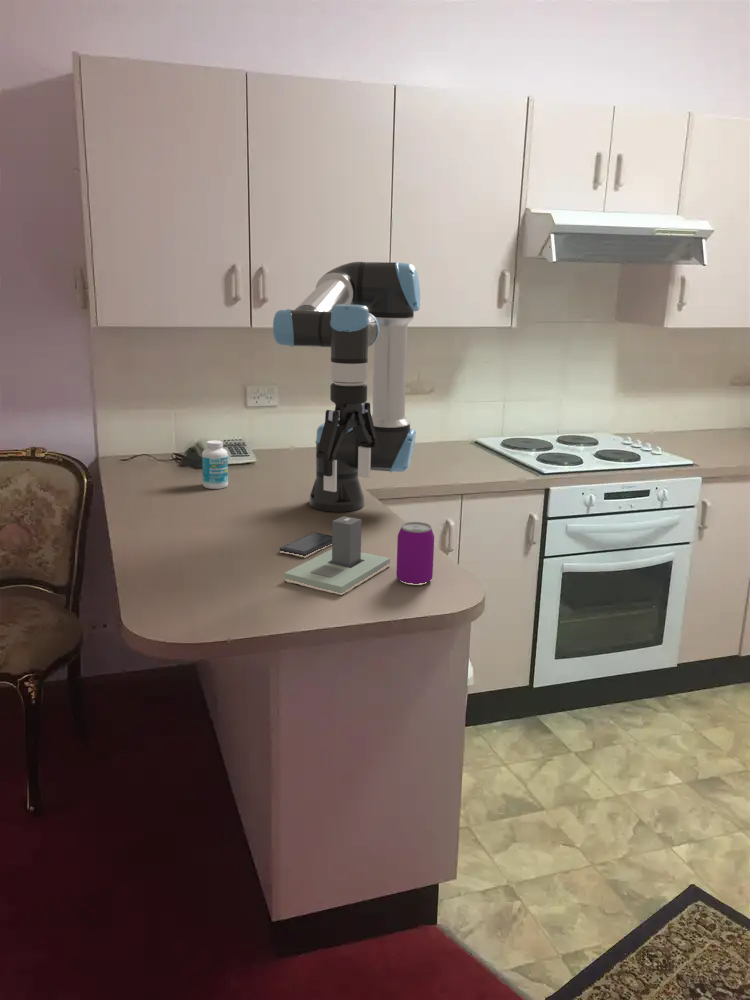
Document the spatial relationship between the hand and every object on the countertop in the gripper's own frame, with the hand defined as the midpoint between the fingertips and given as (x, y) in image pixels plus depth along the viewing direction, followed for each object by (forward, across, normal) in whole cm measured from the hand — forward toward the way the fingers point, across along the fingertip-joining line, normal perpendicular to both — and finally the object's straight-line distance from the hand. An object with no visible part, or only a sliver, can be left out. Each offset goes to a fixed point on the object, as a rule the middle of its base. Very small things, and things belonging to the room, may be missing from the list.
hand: (347, 483), depth 171 cm
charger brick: (+19, 0, 0) cm, 19 cm away
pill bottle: (+20, -38, -69) cm, 81 cm away
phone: (+20, -8, -15) cm, 26 cm away
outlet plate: (+19, +3, 0) cm, 20 cm away
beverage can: (+20, -2, +15) cm, 25 cm away
